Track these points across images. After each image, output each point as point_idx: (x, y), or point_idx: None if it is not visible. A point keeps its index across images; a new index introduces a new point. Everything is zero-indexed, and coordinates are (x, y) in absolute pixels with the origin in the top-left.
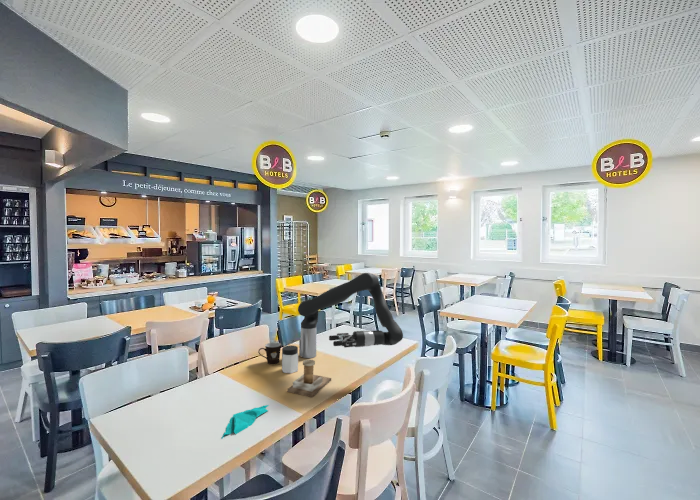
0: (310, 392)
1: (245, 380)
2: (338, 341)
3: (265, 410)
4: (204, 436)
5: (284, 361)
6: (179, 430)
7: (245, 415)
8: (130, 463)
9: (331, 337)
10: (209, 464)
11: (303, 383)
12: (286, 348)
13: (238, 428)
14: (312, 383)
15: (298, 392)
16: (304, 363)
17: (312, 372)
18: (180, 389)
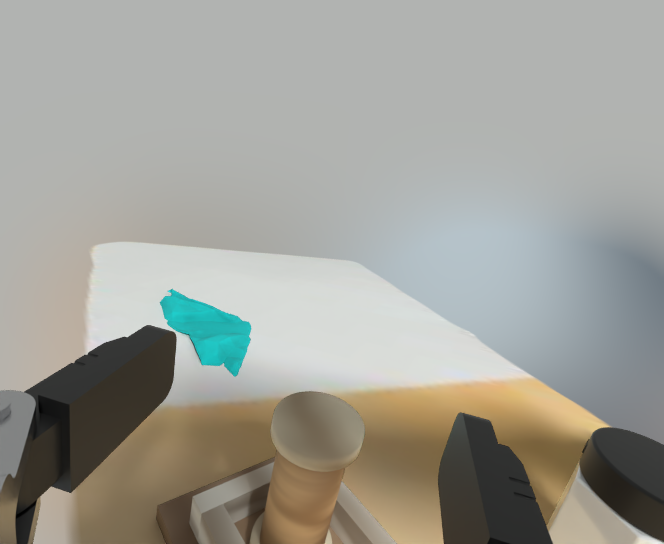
0: (188, 509)
1: (460, 398)
2: (93, 363)
3: (203, 354)
4: (203, 285)
5: (566, 487)
6: (255, 280)
7: (224, 331)
8: (210, 249)
9: (457, 455)
10: (110, 267)
11: (262, 476)
12: (634, 445)
13: (168, 302)
14: (225, 516)
15: (244, 472)
16: (304, 392)
17: (275, 491)
18: (431, 315)
